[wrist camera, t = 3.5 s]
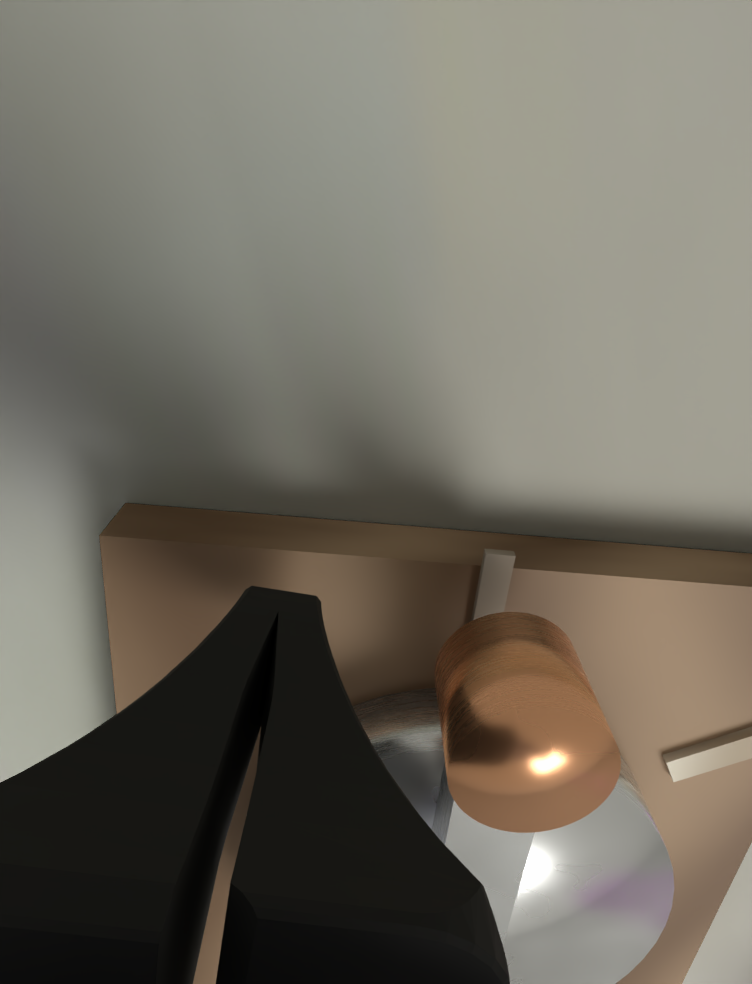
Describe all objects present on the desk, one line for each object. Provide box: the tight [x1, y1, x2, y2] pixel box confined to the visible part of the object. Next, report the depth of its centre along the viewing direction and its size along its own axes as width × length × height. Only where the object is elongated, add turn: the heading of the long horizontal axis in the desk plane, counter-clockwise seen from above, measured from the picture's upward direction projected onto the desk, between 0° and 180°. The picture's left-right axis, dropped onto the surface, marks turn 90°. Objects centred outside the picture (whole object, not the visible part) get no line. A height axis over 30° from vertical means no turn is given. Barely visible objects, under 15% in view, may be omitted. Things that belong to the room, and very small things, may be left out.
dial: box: [247, 612, 674, 984], centre depth 14 cm, size 13×10×4 cm
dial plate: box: [99, 503, 752, 984], centre depth 17 cm, size 16×16×2 cm
